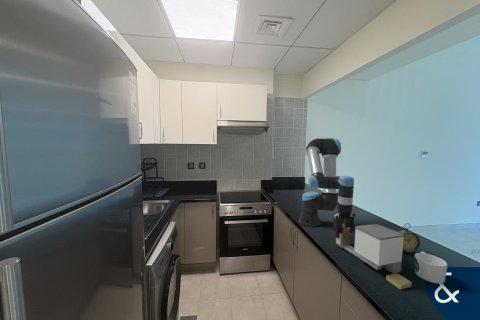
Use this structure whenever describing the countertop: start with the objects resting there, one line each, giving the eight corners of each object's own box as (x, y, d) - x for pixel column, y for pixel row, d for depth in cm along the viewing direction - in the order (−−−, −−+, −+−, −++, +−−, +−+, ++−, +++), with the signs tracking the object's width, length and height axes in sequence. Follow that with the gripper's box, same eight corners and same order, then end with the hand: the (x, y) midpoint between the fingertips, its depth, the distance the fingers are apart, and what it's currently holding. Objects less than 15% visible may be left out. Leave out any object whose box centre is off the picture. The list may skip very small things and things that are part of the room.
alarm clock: (397, 253, 108) (399, 224, 107) (391, 248, 113) (393, 220, 112) (419, 255, 107) (422, 226, 105) (412, 250, 112) (414, 222, 111)
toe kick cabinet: (353, 260, 101) (355, 226, 100) (375, 256, 105) (377, 223, 104) (377, 277, 88) (380, 238, 87) (401, 271, 92) (404, 234, 91)
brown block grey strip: (335, 244, 116) (336, 224, 115) (342, 243, 117) (343, 223, 116) (375, 270, 92) (377, 245, 91) (383, 268, 93) (385, 244, 92)
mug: (451, 287, 82) (453, 268, 82) (419, 280, 86) (421, 262, 86) (434, 268, 95) (435, 252, 94) (407, 263, 99) (408, 248, 98)
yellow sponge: (386, 280, 86) (386, 275, 86) (396, 278, 88) (396, 273, 88) (400, 290, 81) (400, 284, 81) (411, 287, 82) (411, 282, 82)
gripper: (336, 206, 106) (334, 248, 108) (363, 204, 111) (360, 243, 113) (327, 202, 113) (325, 241, 115) (352, 200, 118) (349, 237, 120)
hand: (342, 242), depth 114 cm, fingers closed on brown block grey strip, 5 cm apart
